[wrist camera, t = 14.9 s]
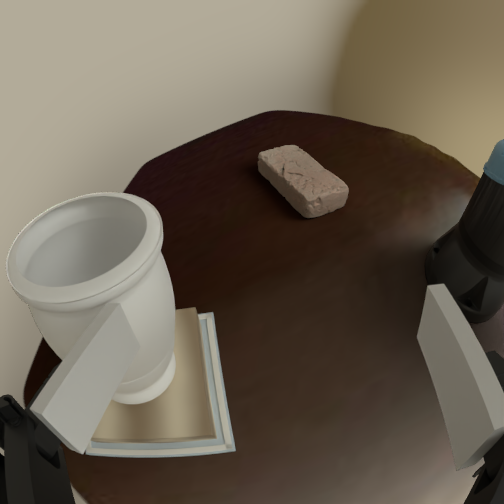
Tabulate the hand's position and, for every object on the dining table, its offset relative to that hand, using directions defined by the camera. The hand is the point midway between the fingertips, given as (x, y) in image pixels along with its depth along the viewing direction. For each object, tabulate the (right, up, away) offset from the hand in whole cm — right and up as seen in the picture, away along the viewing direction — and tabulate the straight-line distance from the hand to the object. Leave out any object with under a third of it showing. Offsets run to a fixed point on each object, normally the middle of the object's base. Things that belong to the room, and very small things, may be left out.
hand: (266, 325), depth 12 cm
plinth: (-11, -12, +17) cm, 24 cm away
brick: (+7, +14, +40) cm, 43 cm away
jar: (-12, -8, +13) cm, 19 cm away
